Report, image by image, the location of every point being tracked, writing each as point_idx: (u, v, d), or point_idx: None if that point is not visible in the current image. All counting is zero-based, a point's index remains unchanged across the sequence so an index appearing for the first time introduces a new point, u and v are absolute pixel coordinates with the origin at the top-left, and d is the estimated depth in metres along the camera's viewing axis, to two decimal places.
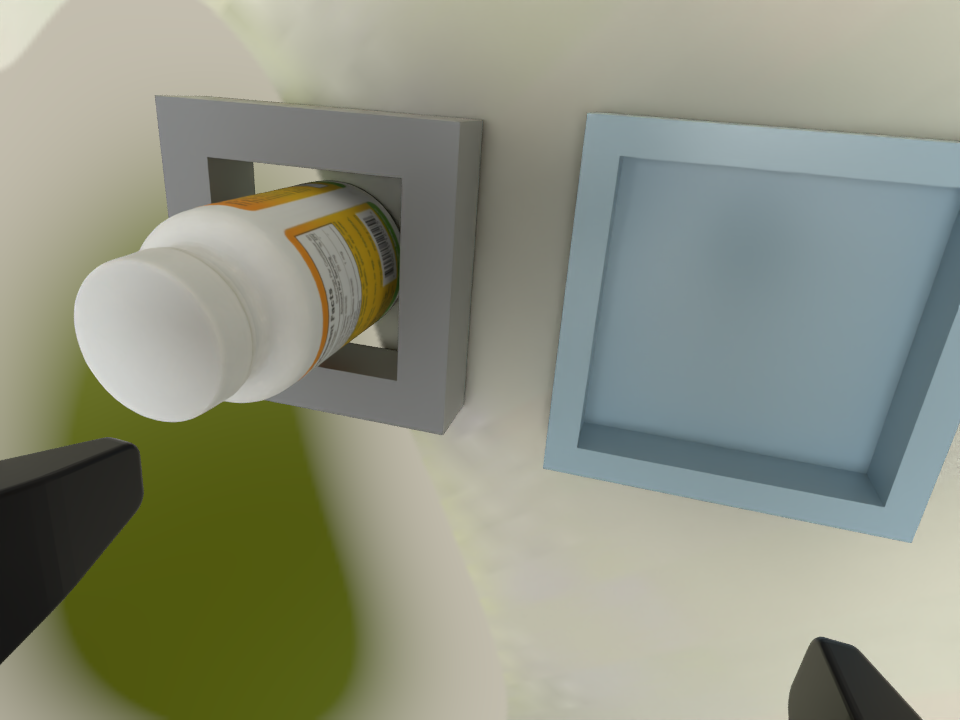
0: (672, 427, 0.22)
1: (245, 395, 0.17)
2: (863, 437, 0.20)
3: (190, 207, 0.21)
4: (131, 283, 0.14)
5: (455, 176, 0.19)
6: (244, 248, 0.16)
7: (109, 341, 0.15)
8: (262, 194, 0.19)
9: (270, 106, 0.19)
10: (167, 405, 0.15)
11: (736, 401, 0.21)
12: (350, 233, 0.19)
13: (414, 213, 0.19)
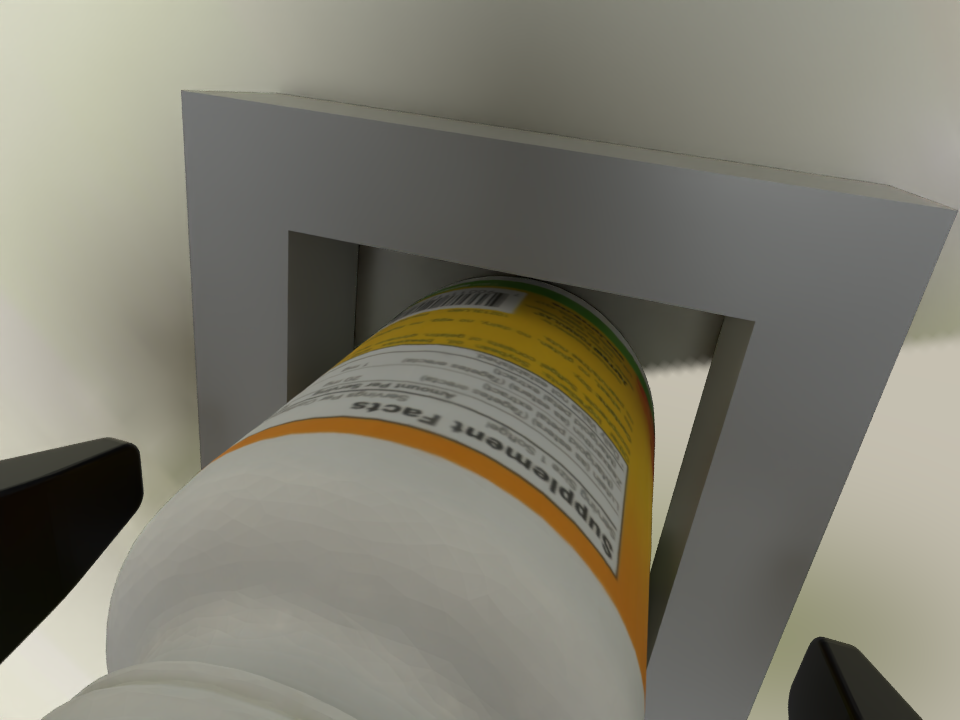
0: None
1: None
2: None
3: None
4: None
5: (274, 108, 0.09)
6: (130, 591, 0.06)
7: None
8: None
9: (202, 450, 0.12)
10: None
11: None
12: (357, 351, 0.09)
13: (351, 212, 0.09)
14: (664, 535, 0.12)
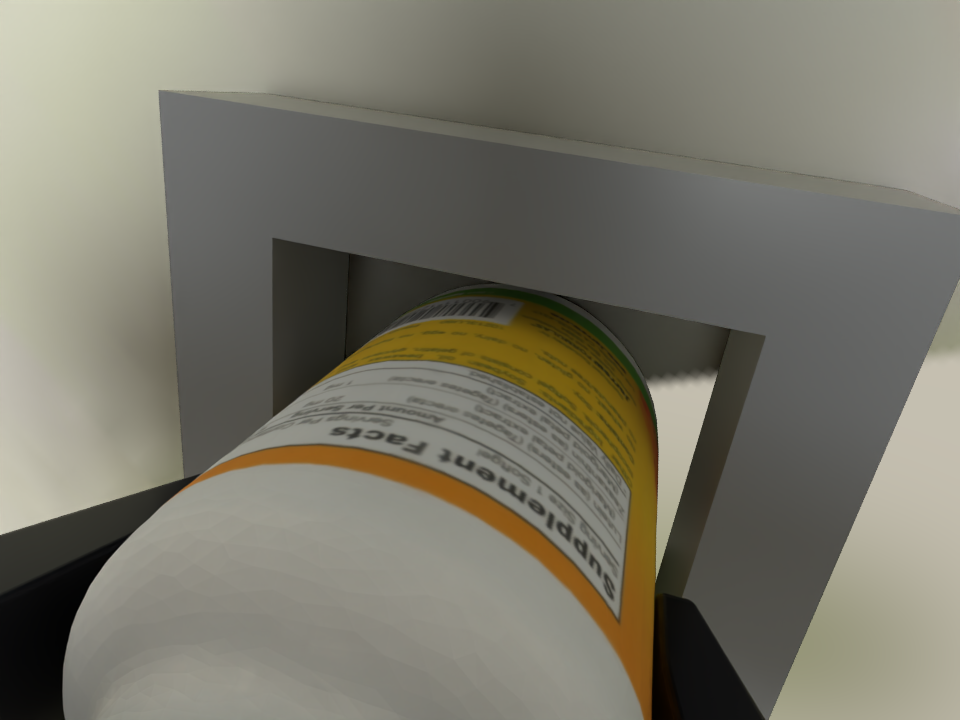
0: None
1: None
2: None
3: None
4: None
5: (256, 109, 0.08)
6: (84, 640, 0.05)
7: None
8: None
9: (186, 465, 0.11)
10: None
11: None
12: (342, 365, 0.08)
13: (338, 218, 0.09)
14: (668, 554, 0.12)
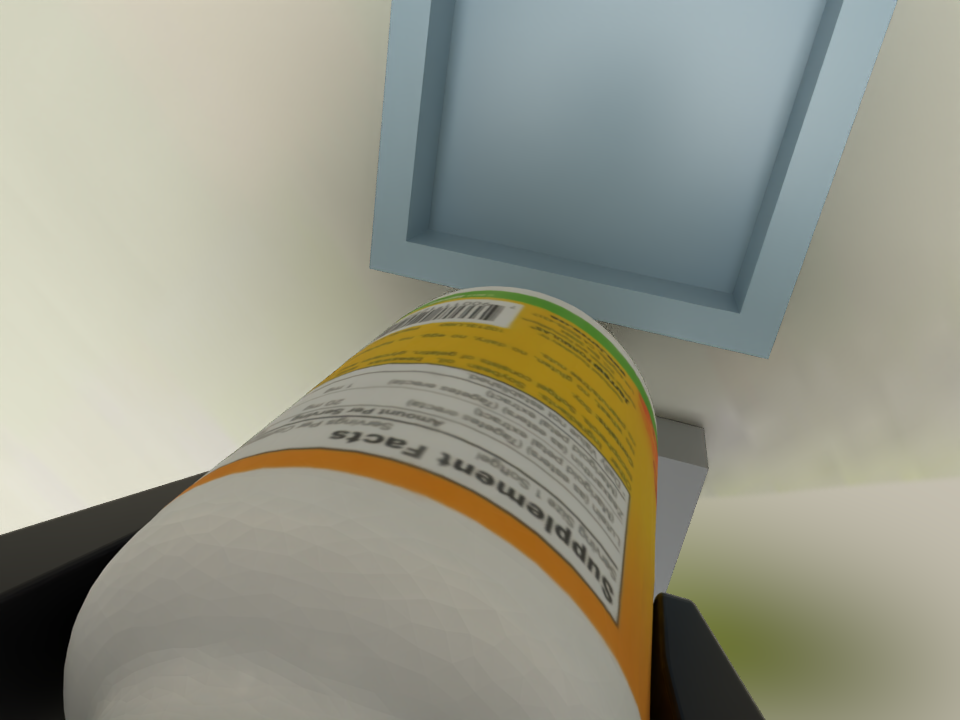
0: (751, 184, 0.17)
1: None
2: None
3: None
4: None
5: None
6: (85, 642, 0.05)
7: None
8: None
9: None
10: None
11: (719, 104, 0.16)
12: (343, 368, 0.08)
13: None
14: None
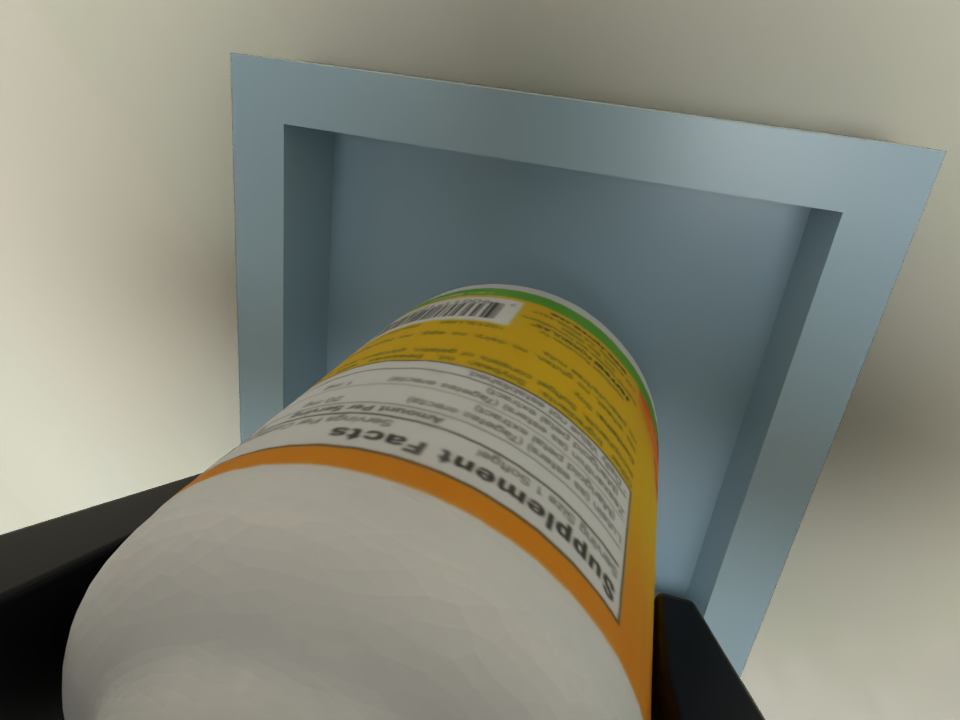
0: (700, 485, 0.14)
1: None
2: (733, 209, 0.12)
3: None
4: None
5: None
6: (83, 639, 0.05)
7: None
8: None
9: None
10: None
11: (656, 396, 0.13)
12: (342, 366, 0.08)
13: None
14: None
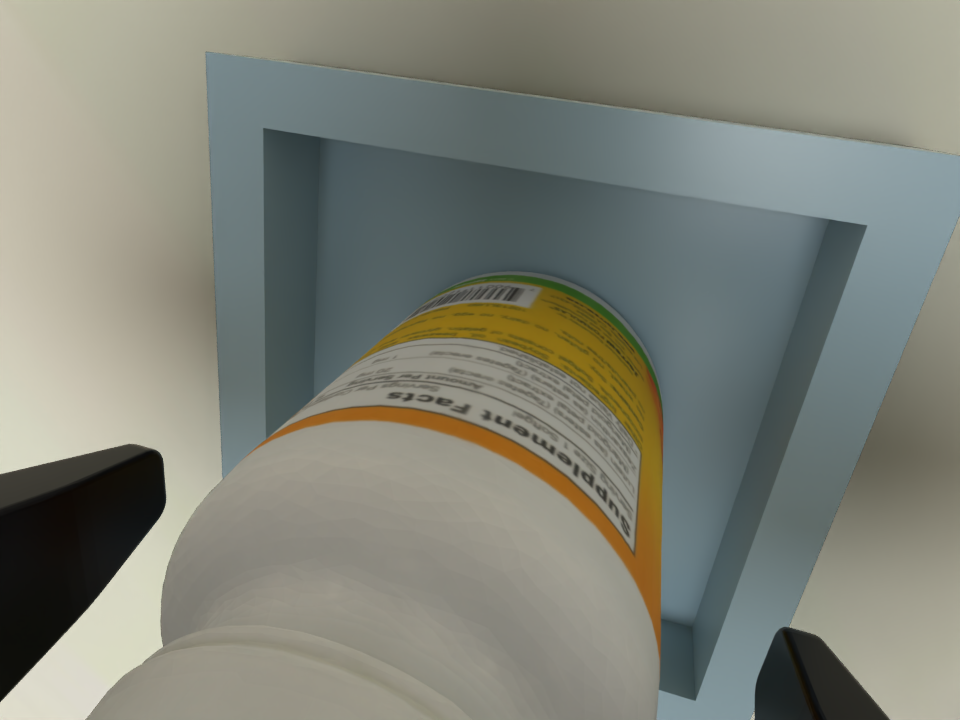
0: (709, 511, 0.13)
1: None
2: (745, 219, 0.11)
3: None
4: None
5: None
6: (187, 566, 0.06)
7: None
8: None
9: None
10: None
11: None
12: (382, 343, 0.09)
13: None
14: None
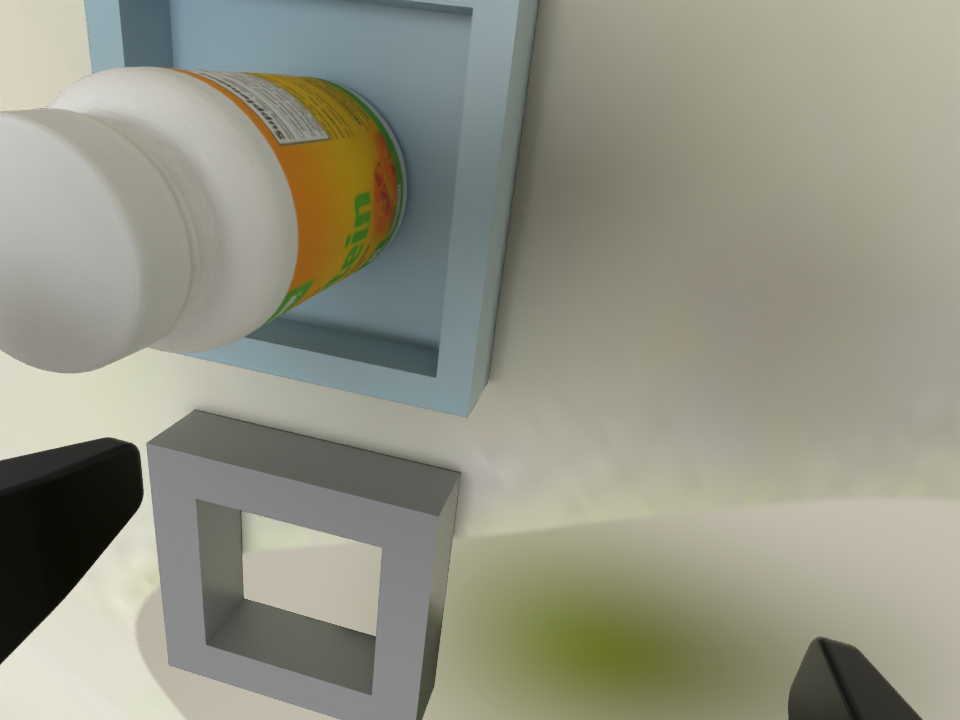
0: None
1: (234, 194, 0.11)
2: (441, 31, 0.16)
3: (247, 673, 0.24)
4: None
5: (186, 454, 0.21)
6: None
7: (38, 316, 0.10)
8: None
9: (161, 584, 0.24)
10: (106, 246, 0.09)
11: (412, 186, 0.18)
12: None
13: (221, 494, 0.21)
14: None
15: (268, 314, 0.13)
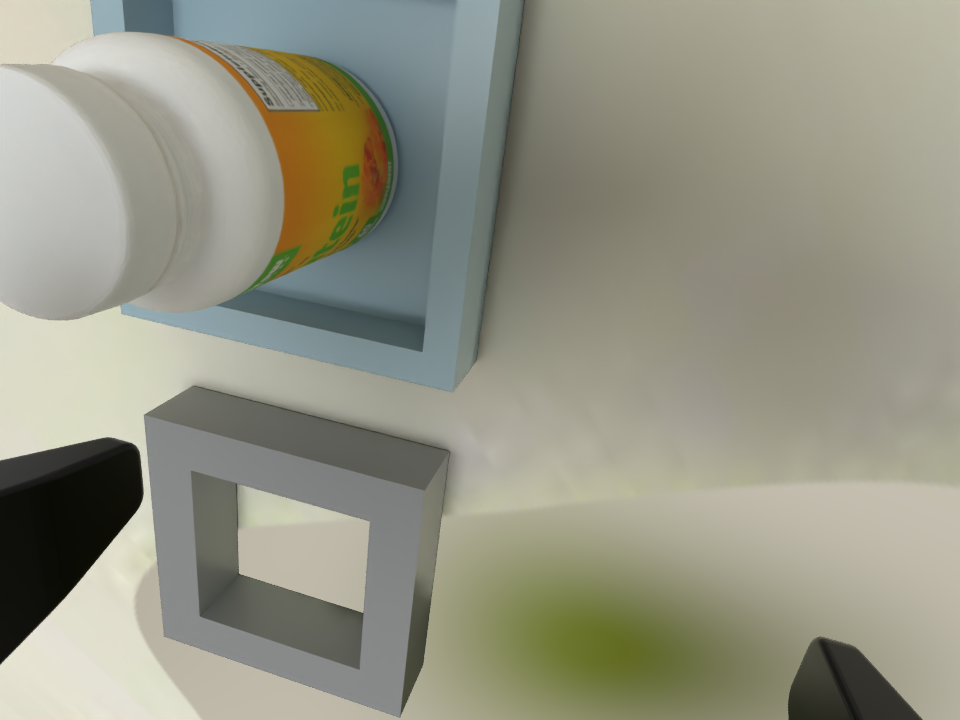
0: None
1: (222, 154, 0.11)
2: (432, 12, 0.17)
3: (239, 645, 0.25)
4: None
5: (182, 426, 0.21)
6: None
7: (30, 263, 0.11)
8: None
9: (158, 555, 0.24)
10: (95, 194, 0.10)
11: (403, 164, 0.18)
12: None
13: (215, 466, 0.22)
14: None
15: (254, 275, 0.13)
